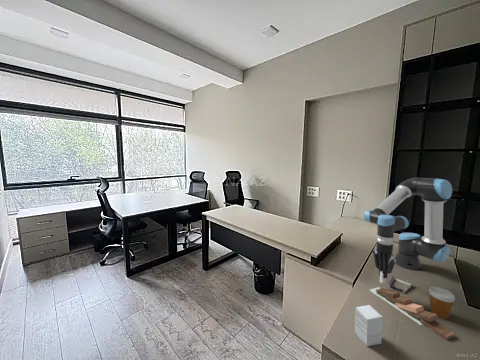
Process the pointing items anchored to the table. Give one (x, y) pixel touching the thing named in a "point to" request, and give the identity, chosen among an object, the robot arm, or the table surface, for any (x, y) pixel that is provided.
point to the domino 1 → (388, 292)
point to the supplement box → (368, 325)
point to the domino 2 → (400, 300)
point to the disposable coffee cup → (441, 302)
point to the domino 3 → (411, 307)
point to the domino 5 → (438, 329)
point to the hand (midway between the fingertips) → (382, 282)
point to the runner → (395, 306)
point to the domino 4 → (424, 315)
